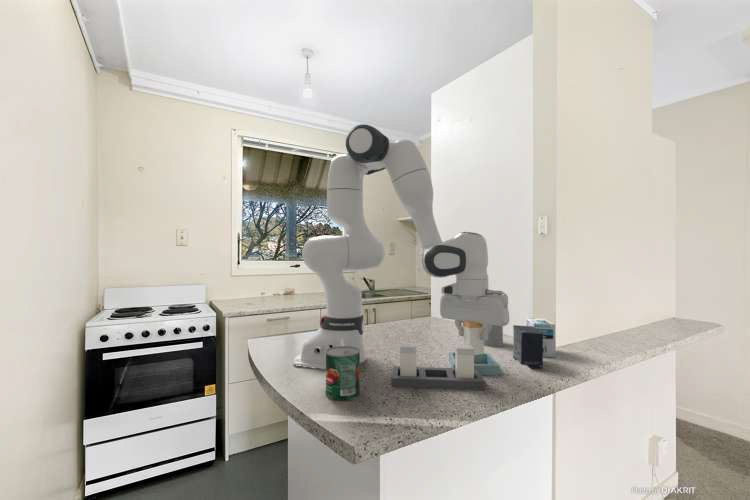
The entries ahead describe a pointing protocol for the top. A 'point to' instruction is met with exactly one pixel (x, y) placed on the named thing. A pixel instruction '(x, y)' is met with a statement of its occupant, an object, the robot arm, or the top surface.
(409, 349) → the block
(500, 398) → the top surface
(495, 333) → the cup
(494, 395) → the top surface
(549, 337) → the light bulb box
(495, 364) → the tray
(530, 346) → the small box
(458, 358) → the block
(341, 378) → the canned tomato
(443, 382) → the block
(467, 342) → the block
